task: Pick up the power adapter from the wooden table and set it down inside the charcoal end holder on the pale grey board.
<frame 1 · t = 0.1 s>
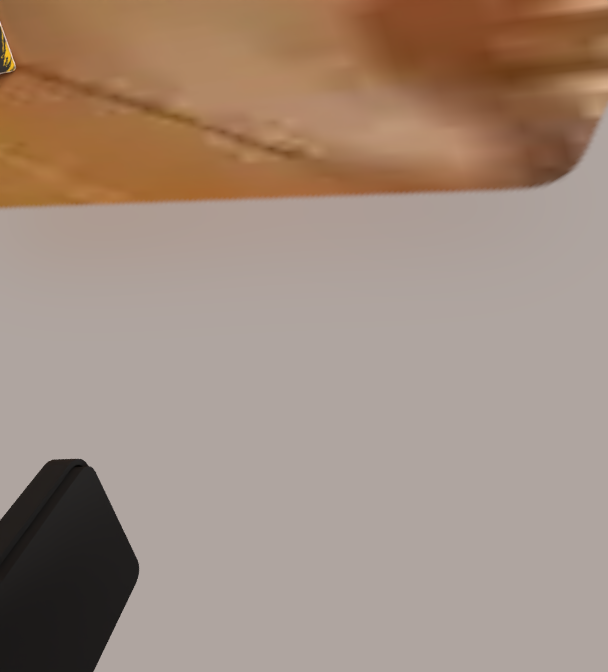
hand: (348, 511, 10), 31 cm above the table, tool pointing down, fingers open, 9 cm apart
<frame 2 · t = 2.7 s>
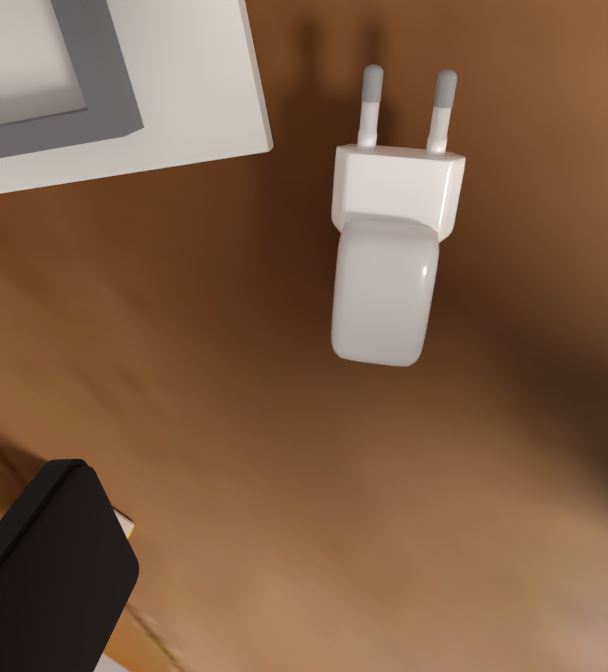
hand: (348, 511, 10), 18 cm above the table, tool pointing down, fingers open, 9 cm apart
power adapter: (394, 196, 26), on the table
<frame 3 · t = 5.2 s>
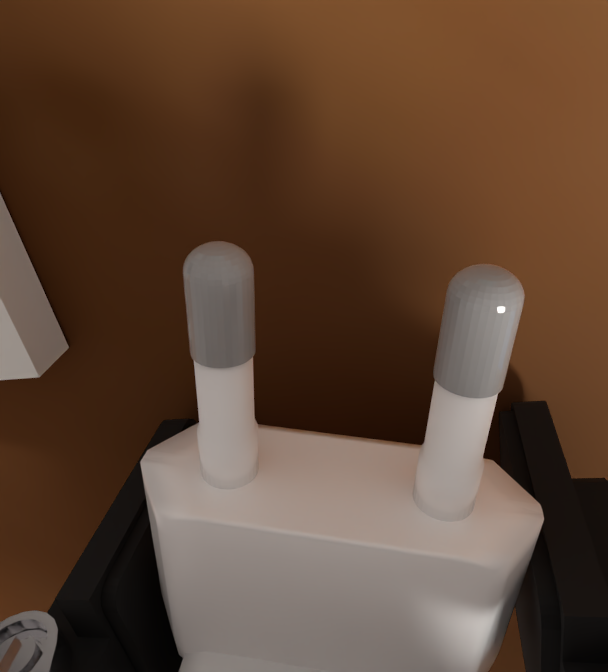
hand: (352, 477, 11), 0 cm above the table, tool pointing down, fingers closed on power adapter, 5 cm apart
power adapter: (348, 453, 11), on the table, touching gripper
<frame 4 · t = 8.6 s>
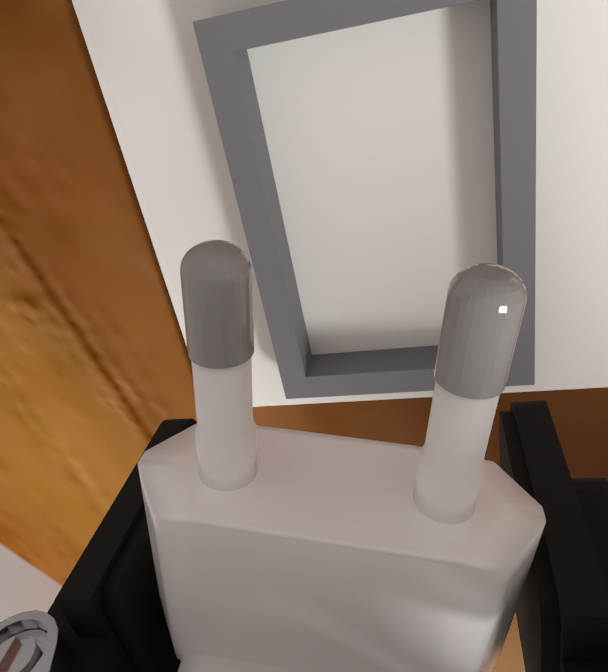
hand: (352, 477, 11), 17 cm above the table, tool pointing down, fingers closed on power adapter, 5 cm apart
charging board: (385, 200, 25), on the table
power adapter: (348, 454, 11), point 16 cm above the table, touching gripper
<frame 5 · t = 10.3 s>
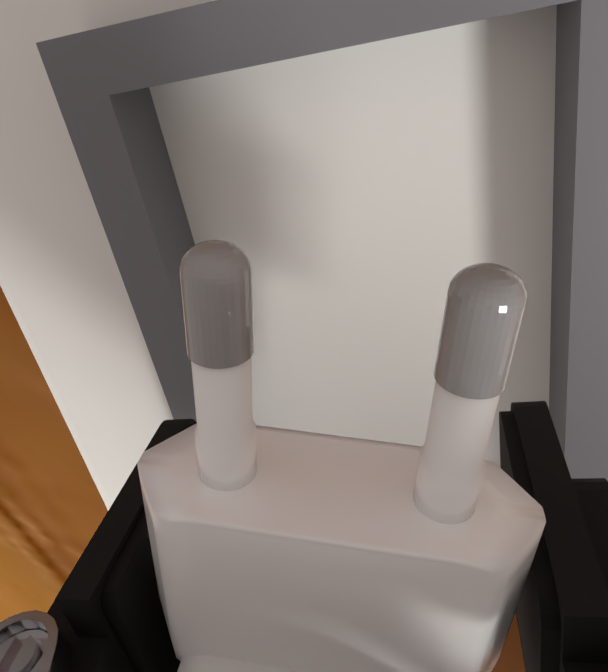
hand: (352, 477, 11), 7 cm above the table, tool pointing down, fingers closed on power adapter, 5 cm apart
charging board: (377, 309, 16), on the table
power adapter: (348, 454, 11), point 6 cm above the table, touching gripper
when the fingers open (3 cm above the table, at t = 11.6 s): power adapter drops 1 cm, resting on charging board.
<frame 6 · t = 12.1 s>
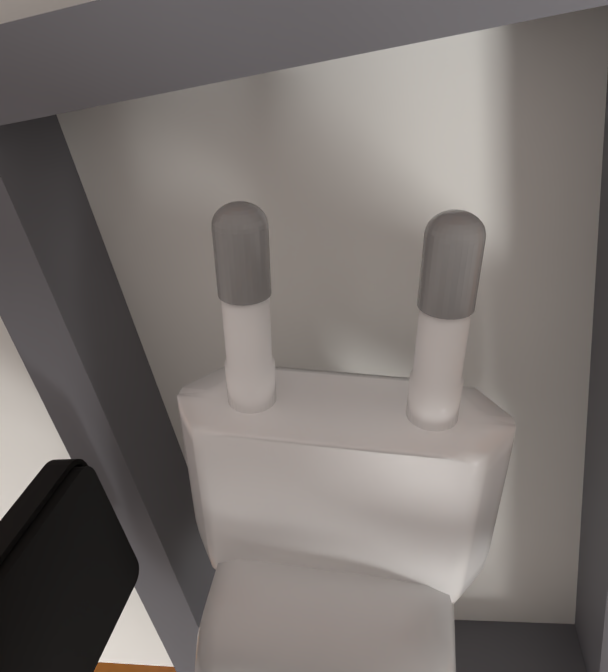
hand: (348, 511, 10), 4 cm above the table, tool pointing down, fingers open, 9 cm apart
charging board: (364, 386, 13), on the table
power adapter: (355, 408, 12), point 1 cm above the table, touching charging board
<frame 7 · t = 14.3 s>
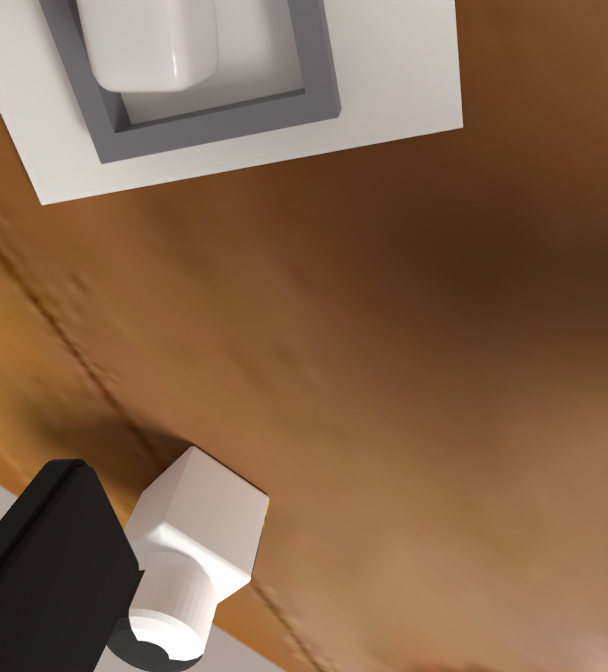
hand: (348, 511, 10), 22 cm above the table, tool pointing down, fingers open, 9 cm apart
medicine bottle: (206, 491, 42), on the table
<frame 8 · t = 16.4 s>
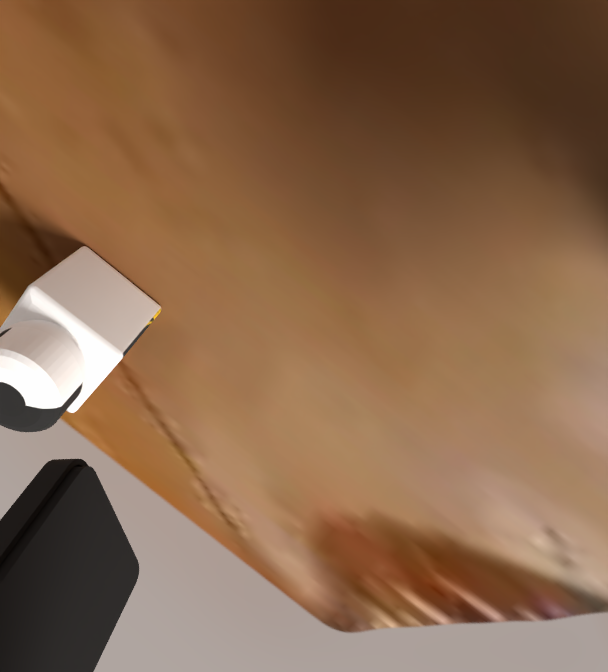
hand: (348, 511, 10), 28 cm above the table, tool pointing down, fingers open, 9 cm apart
medicine bottle: (103, 304, 43), on the table
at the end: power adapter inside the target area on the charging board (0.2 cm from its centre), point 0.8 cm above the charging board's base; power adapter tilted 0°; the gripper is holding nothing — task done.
